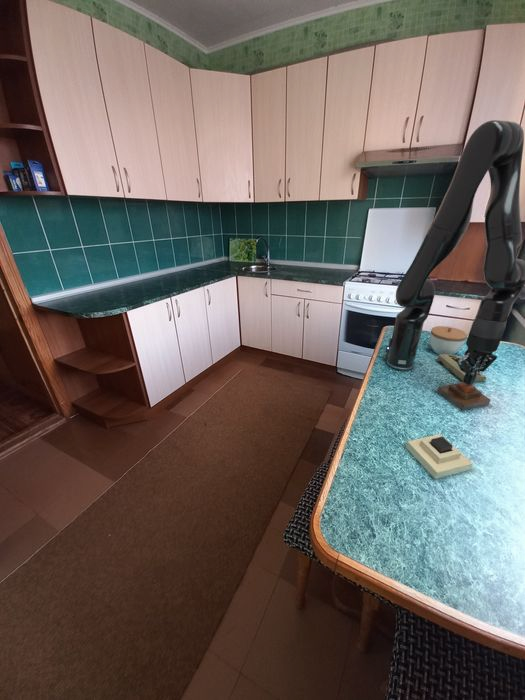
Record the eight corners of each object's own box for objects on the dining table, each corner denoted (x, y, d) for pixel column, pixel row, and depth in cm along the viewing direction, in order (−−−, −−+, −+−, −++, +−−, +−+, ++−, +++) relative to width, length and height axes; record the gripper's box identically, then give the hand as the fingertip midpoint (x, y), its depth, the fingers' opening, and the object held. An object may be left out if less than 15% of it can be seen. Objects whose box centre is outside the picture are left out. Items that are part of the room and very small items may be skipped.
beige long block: (485, 381, 101) (488, 373, 99) (462, 383, 101) (465, 375, 99) (455, 360, 115) (458, 352, 113) (436, 361, 115) (438, 353, 113)
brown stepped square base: (436, 392, 96) (439, 382, 94) (461, 387, 98) (465, 377, 97) (462, 410, 88) (466, 400, 86) (488, 405, 90) (493, 394, 88)
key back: (456, 387, 92) (458, 382, 92) (465, 385, 93) (466, 381, 92) (465, 393, 90) (467, 388, 89) (473, 391, 90) (475, 386, 90)
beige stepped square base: (405, 447, 75) (408, 435, 73) (437, 439, 77) (441, 428, 76) (434, 479, 67) (439, 467, 65) (470, 469, 69) (475, 457, 67)
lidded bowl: (421, 344, 128) (427, 321, 122) (452, 345, 126) (460, 322, 121) (432, 358, 116) (439, 333, 111) (466, 359, 115) (475, 334, 110)
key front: (429, 444, 71) (431, 438, 71) (440, 441, 72) (442, 436, 71) (439, 453, 69) (441, 448, 68) (451, 451, 69) (453, 445, 69)
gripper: (492, 325, 87) (474, 374, 95) (455, 330, 84) (440, 380, 92) (517, 334, 80) (496, 386, 88) (478, 340, 78) (460, 393, 86)
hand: (467, 383), depth 90 cm, fingers closed
